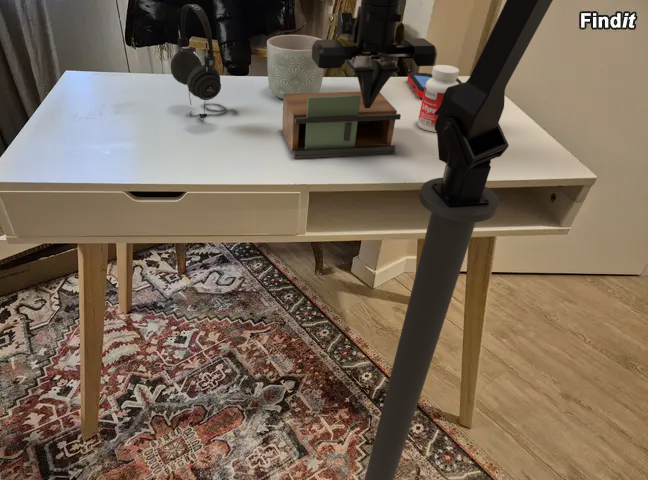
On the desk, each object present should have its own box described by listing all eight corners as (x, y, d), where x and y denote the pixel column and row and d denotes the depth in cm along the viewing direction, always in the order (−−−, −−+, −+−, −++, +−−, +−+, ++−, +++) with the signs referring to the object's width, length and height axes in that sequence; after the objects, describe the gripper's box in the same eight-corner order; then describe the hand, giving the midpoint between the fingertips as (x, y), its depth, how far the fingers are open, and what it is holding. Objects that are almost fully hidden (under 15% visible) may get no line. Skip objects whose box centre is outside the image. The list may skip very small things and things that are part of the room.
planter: (280, 108, 103) (281, 52, 97) (257, 89, 112) (257, 36, 105) (332, 101, 108) (337, 47, 101) (307, 83, 116) (310, 32, 110)
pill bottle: (412, 128, 97) (424, 69, 90) (423, 118, 102) (434, 61, 95) (443, 135, 95) (458, 75, 88) (453, 125, 99) (467, 67, 92)
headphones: (253, 126, 96) (252, 11, 83) (198, 136, 91) (188, 16, 79) (221, 100, 106) (216, -6, 93) (170, 108, 101) (157, -2, 89)
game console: (475, 102, 109) (478, 92, 108) (417, 101, 109) (419, 91, 108) (456, 81, 121) (459, 71, 119) (404, 80, 120) (406, 70, 119)
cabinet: (394, 154, 88) (401, 115, 84) (294, 159, 85) (296, 119, 81) (373, 127, 97) (378, 90, 93) (282, 130, 94) (283, 93, 90)
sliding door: (354, 148, 87) (361, 97, 81) (305, 151, 86) (308, 98, 80) (353, 146, 88) (359, 95, 82) (304, 148, 86) (307, 96, 81)
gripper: (419, -8, 81) (402, 89, 91) (307, -8, 78) (302, 92, 88) (448, 6, 72) (426, 112, 82) (323, 7, 70) (316, 116, 79)
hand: (366, 107), depth 83 cm, fingers closed
